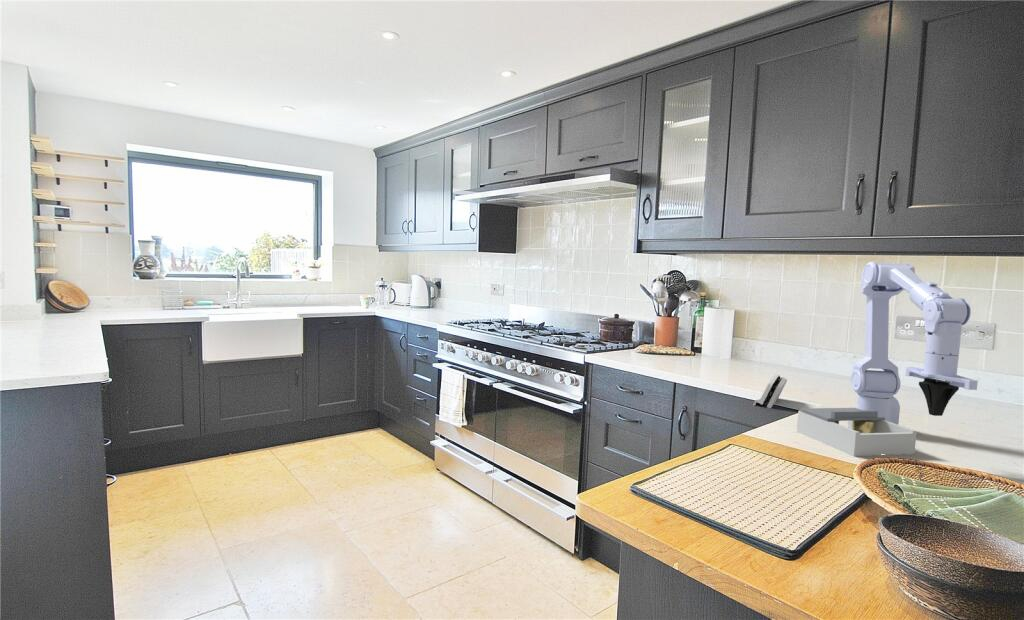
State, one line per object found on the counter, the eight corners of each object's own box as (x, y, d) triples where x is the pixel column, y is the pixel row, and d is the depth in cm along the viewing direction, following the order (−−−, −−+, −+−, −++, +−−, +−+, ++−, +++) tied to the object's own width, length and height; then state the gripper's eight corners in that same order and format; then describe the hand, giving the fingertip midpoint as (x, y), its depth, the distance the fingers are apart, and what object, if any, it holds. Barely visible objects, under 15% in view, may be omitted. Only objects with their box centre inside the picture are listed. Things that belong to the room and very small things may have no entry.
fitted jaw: (864, 436, 134) (865, 417, 134) (877, 442, 130) (878, 422, 129) (847, 436, 134) (848, 417, 134) (859, 442, 129) (861, 422, 129)
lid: (854, 410, 139) (855, 402, 139) (884, 419, 130) (885, 411, 130) (800, 410, 136) (800, 402, 136) (827, 421, 127) (827, 412, 127)
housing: (850, 430, 140) (852, 409, 139) (914, 454, 122) (916, 430, 122) (796, 432, 137) (798, 410, 136) (853, 456, 119) (855, 432, 119)
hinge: (761, 395, 177) (774, 369, 175) (776, 402, 175) (789, 375, 173) (752, 405, 164) (767, 376, 161) (768, 413, 161) (783, 384, 159)
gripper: (896, 348, 123) (891, 406, 124) (960, 359, 109) (953, 424, 110) (922, 348, 124) (916, 406, 125) (988, 359, 110) (981, 424, 111)
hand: (935, 415), depth 118 cm, fingers closed
